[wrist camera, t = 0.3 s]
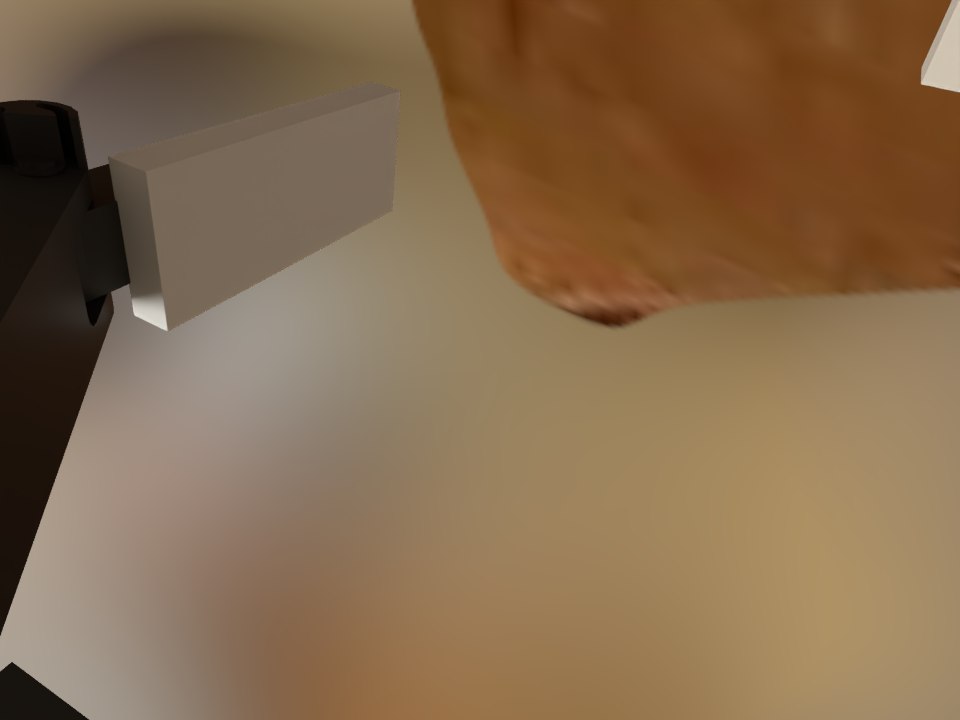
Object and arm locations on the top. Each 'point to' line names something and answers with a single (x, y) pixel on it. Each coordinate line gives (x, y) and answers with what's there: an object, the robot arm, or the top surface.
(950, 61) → the socket board
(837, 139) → the top surface
